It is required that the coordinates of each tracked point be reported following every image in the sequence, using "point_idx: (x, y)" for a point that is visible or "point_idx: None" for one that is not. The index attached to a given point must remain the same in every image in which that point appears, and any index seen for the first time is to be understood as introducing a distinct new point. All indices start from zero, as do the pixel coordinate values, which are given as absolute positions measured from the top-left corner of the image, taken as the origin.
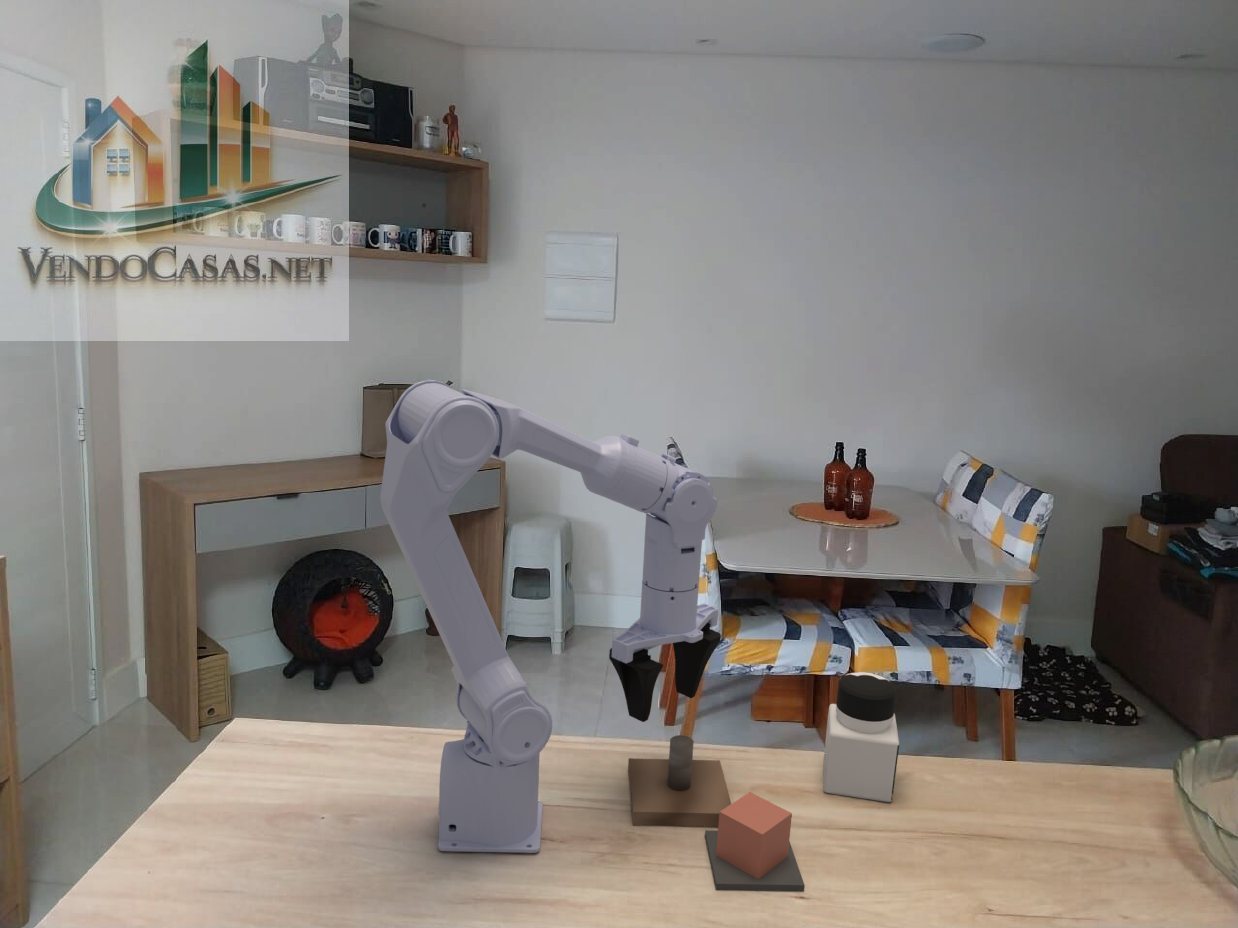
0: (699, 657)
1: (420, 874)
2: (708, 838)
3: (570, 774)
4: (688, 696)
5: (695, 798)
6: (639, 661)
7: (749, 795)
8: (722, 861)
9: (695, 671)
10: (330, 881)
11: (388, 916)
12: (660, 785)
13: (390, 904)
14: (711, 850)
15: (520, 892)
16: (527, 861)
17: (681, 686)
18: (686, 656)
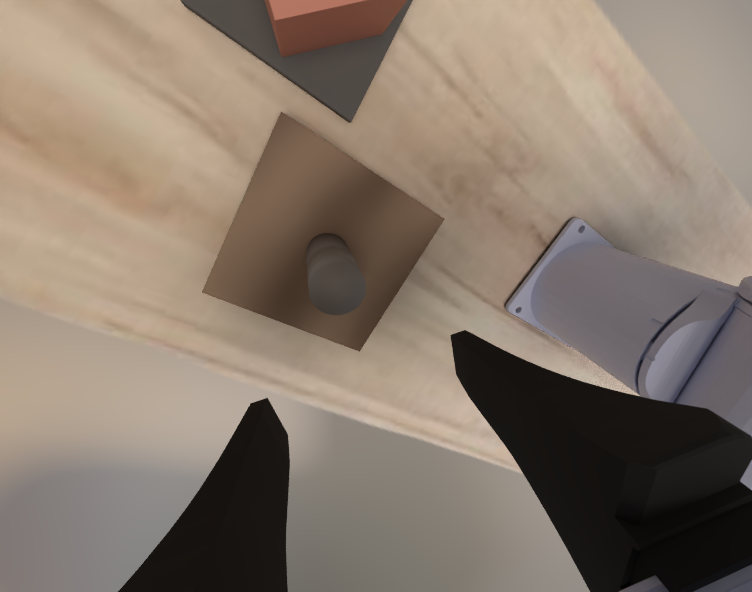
0: (226, 546)
1: (672, 244)
2: (361, 94)
3: (429, 355)
4: (271, 406)
5: (324, 202)
6: (714, 502)
7: (287, 2)
8: None
9: (247, 478)
10: (720, 272)
11: (736, 194)
12: (358, 265)
13: (721, 212)
14: (379, 55)
15: (636, 155)
16: (588, 209)
17: (280, 442)
18: (262, 557)
